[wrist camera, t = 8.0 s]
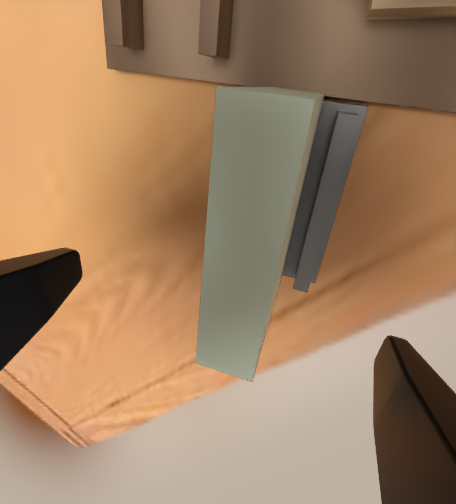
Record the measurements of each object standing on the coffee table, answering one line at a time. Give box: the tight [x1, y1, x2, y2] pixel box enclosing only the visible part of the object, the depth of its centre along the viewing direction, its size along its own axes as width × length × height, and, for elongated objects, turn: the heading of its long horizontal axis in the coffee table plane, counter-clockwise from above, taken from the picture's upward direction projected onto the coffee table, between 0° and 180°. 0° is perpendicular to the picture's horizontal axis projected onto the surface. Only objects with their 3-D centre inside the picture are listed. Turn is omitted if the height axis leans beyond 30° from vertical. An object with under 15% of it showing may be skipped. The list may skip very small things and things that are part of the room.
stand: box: [282, 100, 368, 292], centre depth 16 cm, size 6×10×2 cm
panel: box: [196, 87, 325, 382], centre depth 13 cm, size 2×10×8 cm, turn 173°
